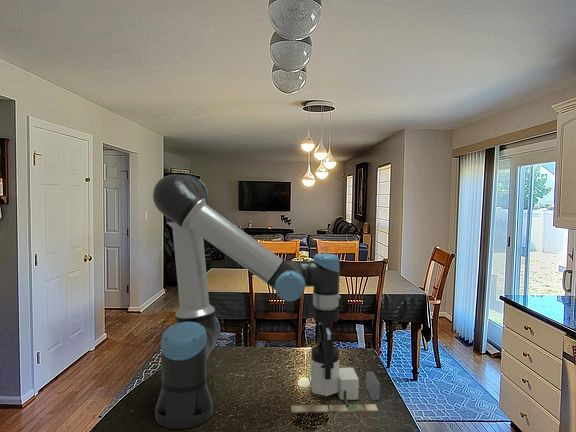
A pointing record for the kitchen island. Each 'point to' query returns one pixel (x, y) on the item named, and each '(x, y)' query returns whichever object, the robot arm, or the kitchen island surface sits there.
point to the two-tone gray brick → (373, 385)
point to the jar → (317, 371)
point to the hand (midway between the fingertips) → (324, 381)
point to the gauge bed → (333, 408)
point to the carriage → (348, 385)
